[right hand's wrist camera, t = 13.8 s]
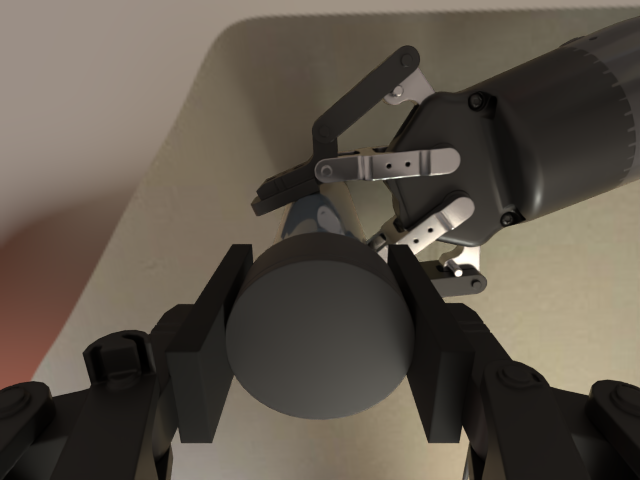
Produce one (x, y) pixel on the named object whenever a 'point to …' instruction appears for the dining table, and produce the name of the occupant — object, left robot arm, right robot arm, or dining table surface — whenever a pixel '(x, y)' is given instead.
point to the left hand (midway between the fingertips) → (277, 245)
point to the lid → (320, 328)
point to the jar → (322, 214)
